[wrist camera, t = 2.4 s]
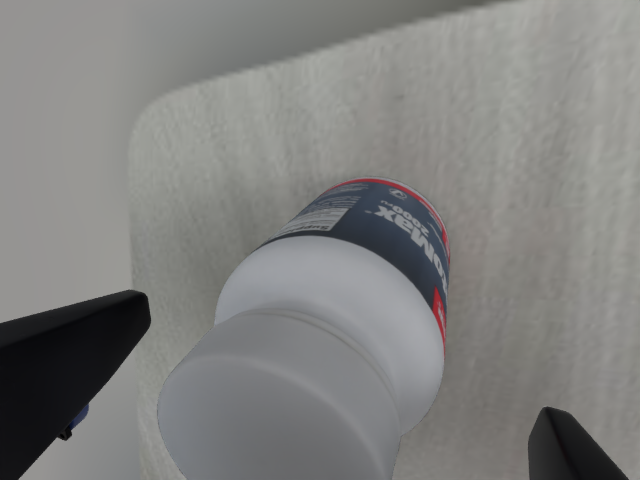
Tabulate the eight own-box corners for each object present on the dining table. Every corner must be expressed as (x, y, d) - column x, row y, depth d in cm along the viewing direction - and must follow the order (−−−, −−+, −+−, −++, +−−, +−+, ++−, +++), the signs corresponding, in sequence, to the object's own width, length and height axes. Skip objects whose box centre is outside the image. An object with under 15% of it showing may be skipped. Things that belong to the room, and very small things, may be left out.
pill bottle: (474, 284, 13) (499, 594, 5) (345, 322, 15) (231, 572, 8) (409, 145, 12) (319, 273, 4) (281, 208, 14) (72, 365, 7)
